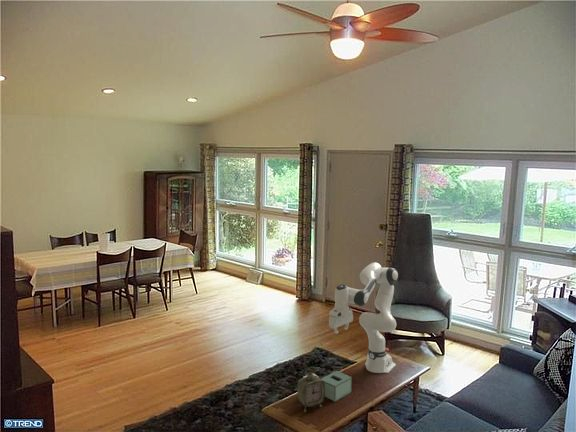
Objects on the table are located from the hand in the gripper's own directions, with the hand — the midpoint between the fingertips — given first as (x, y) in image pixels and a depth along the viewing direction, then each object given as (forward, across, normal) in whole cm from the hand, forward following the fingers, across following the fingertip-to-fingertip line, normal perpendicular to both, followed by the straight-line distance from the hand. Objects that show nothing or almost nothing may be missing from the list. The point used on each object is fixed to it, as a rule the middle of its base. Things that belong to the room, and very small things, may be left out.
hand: (341, 331), depth 290 cm
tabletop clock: (+35, +35, +6) cm, 50 cm away
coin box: (+35, +12, +6) cm, 38 cm away
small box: (+35, +26, -2) cm, 44 cm away
